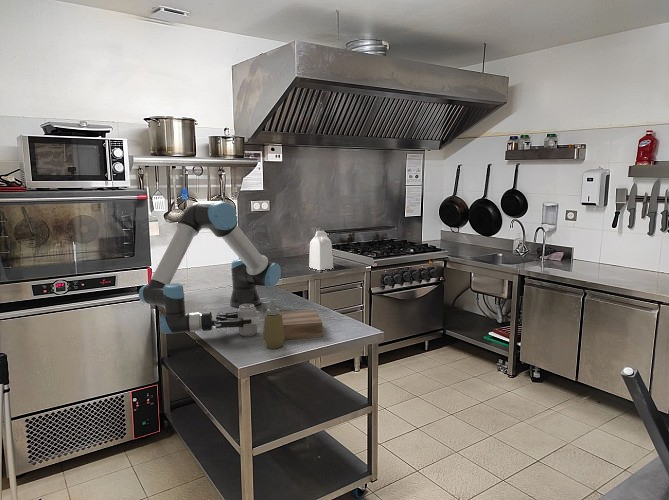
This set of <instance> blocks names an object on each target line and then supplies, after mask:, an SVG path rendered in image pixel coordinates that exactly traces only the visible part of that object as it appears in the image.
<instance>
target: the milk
mask: <svg viewBox="0 0 669 500" xmlns="http://www.w3.org/2000/svg"><path fill="white" fill-rule="evenodd" d="M333 259H334V258H333V245H332V240H331V239H330V238H329V237H328V236H327V234H326V232H325V230H318V231H315V234H314V236H313V238H312V239H311V240H310V242H309V259H308V262H309V263H308V264H309V265H308V268H309V267H310V268H313V269H317V270H325V269H330V270H333V269H334V260H333ZM332 268H333V269H332ZM325 271H326V270H325Z"/></svg>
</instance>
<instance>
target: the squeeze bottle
mask: <svg viewBox="0 0 669 500" xmlns="http://www.w3.org/2000/svg"><path fill="white" fill-rule="evenodd" d="M279 312H280V308H278V307H277V306H276V302H275V299H270V303H269V307H268V308H267V309H266V314H265V315H264V319H263V335H262V336H263V337H262V338H263V340H264V342H265V345H266V348H267V349H279V348H281V347H282V346H283V344H284V341H285V340H284V338H285V334H284V327H283V320H282V315H281V314H279Z"/></svg>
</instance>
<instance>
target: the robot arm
mask: <svg viewBox="0 0 669 500" xmlns="http://www.w3.org/2000/svg"><path fill="white" fill-rule="evenodd" d="M237 213H238V212H237V209H236V208H235V207H234V205H232V204H231V203H229V202H227V201H223V200H217V201H209V200H207V201H205V200H201V201H200V200H199V201H197V202H194V203H193V204H191V205H190V206H188V207H187V208H186V210H185V211H184V212H183V213H182V215H181V217H180V218H179V220H178V221H177V223H176V231H175V233H174V235H173V236H172V238H171V239H170V242H169V244H168V246H167V248H166V250H165V252H164V254H163V255H162V257H161V260H160V261H159V264H158V265H157V268H156V269H155V271H154V273H153V275H152V277H151V278H150V281H149V283H148V284H144V285H143V286H141V287H140V288H139V290H138V298H139V300H140V301H141V302H142V303H144V304H147V305H152V306H159V307H164V314H162V315H161V316H160V318H159V327H160V328H159V329H160V332H161V333H162V334H168V335H169V334H172V335H173V334H181V333H182V334H183V333H195V334H196V333H197V332H201V331H203V332H207V331H209V332H210V331H212V330H213V327H215V329H224V328H225V329H226V328H238V327H243V325H250V324H257V325H258V324H259V325H260V324H261V318H260V311H259V310H258V311H257V310H256V316H257V317H248V318H243V319H238V310H237V311H227V312H217V314H216V315H212V314H213V313H212V311H202V312H200V311H199V312H188V313H187V312H186V305H185V303H186V302H185V292H184V285H183V284H181V283H172V280H173V278H174V277H175V274H176V273H177V271H178V269H179V267H180V265H181V263H182V261H183V259H184V257H185V255H186V254H187V251H188V249H189V248H190V245H191V243H192V241H193V239H194V237H195V236H198V234H199V232H200V231H201V230H202V229H206V230H207V229H209V230H210V231H211V232H212V233H213V234H214V236H215V237H217V238H221V239H223V241H224V242H225V243H226V244H227V246H229V248H230V249H231V250H232V251H233V252H234V254H235V255H236V256H237V257H238V258H237V259H233V261H232V262H231V281H232V291H231V295H230V299H229V305H230V307H234V308H239V306H240V305H242V304H253V305H254V307H256V306H258V305H260V304H261V302H262V301H261V297H260V294H259V292H258V288H257V286H259V287H264V288H272V287H275V286H277V284H278V283H279V282H280V279H281V274H282V273H281V271H282V269H281V266H280V265H279V264H278V263H276V262H271V261H270V259H269V258H268V257H267V256H266V255H263V254H261V253H260V252H259V251H258V250H257V248H256V247H255V245H254V244H253V243H252V242H251V241H250V239H249V238H248V237H247V236H246V234H245V233H244V231H243V230H242V229H241V228H240V227H239V226H238V216H237V215H238V214H237Z"/></svg>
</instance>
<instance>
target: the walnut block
mask: <svg viewBox="0 0 669 500" xmlns="http://www.w3.org/2000/svg"><path fill="white" fill-rule="evenodd" d="M279 314H281V315H282V320H283V327H284V334H285V338H284V341H288V340H297V339H298V340H299V339H310V338H311V339H312V338H323V336H324V335H323V321H322V319H321V317H320V315H319V313H318V311H317V310H316V309H308V310H297V311H295V310H294V311H293V310H292V311H279Z"/></svg>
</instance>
